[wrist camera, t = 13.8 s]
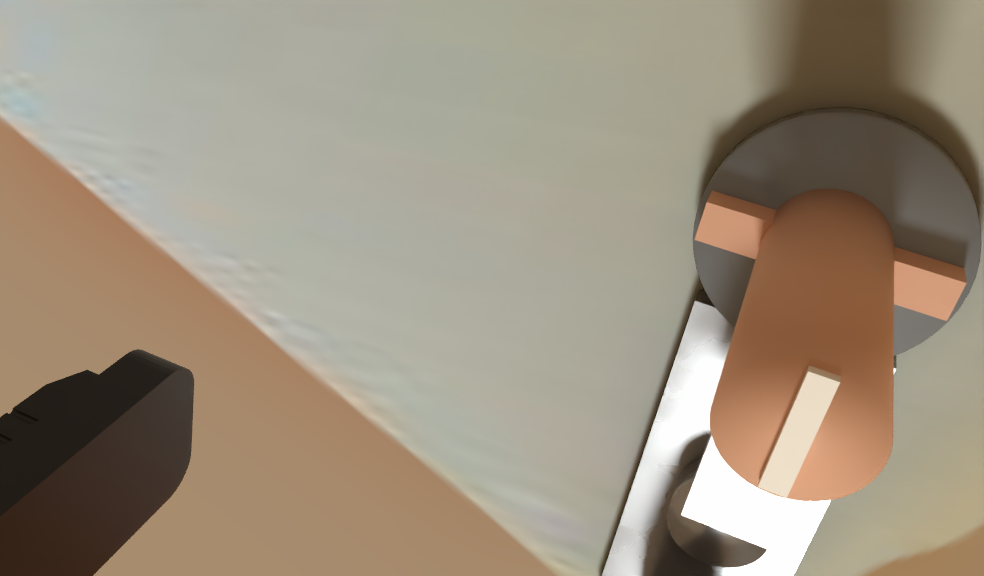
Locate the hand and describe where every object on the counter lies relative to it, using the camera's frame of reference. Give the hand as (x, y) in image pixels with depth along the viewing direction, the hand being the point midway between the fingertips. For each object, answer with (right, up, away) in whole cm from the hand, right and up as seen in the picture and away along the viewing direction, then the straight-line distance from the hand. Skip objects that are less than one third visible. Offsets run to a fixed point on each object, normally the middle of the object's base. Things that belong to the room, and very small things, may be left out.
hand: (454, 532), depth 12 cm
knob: (+13, +5, +22) cm, 26 cm away
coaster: (+13, +5, +23) cm, 27 cm away
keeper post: (+11, -6, +30) cm, 33 cm away
